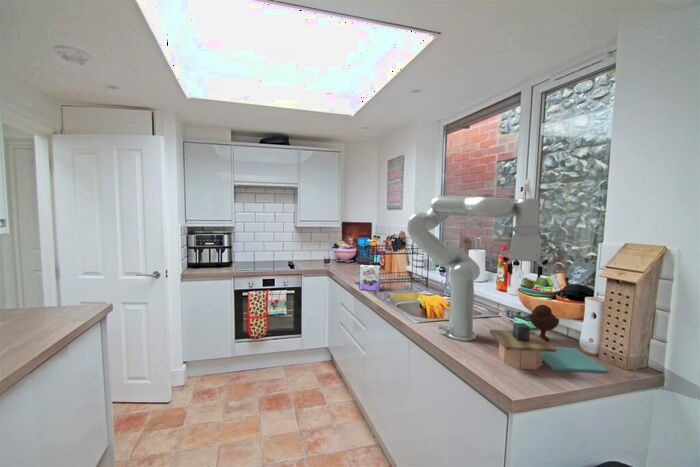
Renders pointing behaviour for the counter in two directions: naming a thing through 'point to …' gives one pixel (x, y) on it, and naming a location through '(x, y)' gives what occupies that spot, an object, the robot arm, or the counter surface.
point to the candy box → (369, 277)
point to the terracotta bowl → (521, 358)
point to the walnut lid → (522, 339)
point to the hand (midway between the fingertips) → (524, 275)
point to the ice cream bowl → (543, 320)
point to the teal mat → (570, 361)
